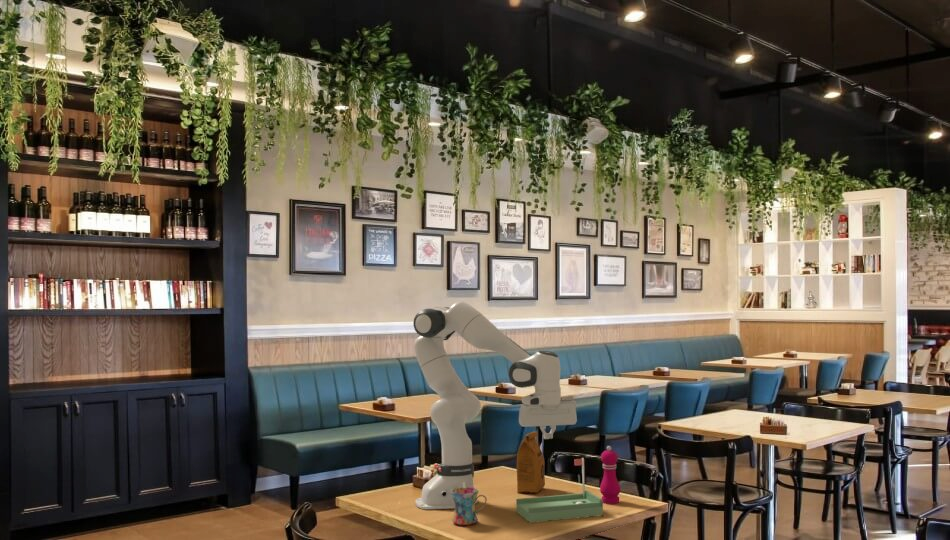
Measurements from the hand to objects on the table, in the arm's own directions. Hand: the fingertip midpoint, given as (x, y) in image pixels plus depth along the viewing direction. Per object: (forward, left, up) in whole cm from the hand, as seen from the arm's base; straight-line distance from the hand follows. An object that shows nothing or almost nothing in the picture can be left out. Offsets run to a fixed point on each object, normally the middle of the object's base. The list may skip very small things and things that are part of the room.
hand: (548, 438), depth 280 cm
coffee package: (+5, +33, -26) cm, 42 cm away
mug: (-29, -3, -26) cm, 39 cm away
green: (+3, -2, -25) cm, 26 cm away
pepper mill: (+26, +7, -26) cm, 37 cm away
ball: (+10, -3, -24) cm, 26 cm away
